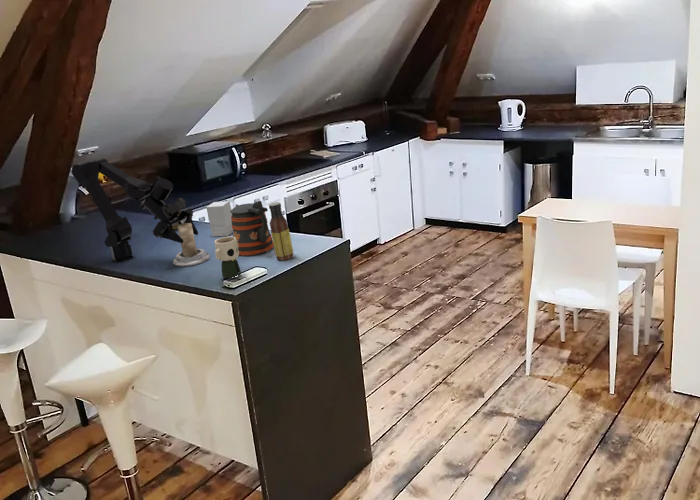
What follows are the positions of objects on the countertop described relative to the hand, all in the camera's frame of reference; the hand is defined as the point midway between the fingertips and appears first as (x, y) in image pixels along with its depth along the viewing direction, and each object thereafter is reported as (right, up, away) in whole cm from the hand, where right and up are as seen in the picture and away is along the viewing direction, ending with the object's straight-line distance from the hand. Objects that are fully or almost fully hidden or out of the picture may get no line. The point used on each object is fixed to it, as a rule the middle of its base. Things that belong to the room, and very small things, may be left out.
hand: (190, 238), depth 247 cm
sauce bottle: (+35, -7, -7) cm, 36 cm away
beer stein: (+24, -5, +5) cm, 25 cm away
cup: (-17, +4, +47) cm, 50 cm away
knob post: (0, -7, +3) cm, 8 cm away
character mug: (+18, -13, -19) cm, 29 cm away
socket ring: (0, -8, +3) cm, 9 cm away
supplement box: (+6, +2, +32) cm, 33 cm away
